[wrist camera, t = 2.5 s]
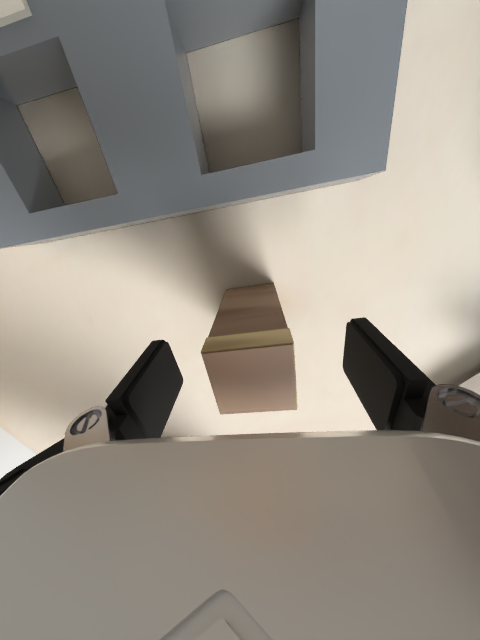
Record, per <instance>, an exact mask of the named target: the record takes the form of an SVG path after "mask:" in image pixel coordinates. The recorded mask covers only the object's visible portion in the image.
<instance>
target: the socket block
mask: <svg viewBox="0 0 480 640" xmlns="http://www.w3.org/2000/svg"><path fill="white" fill-rule="evenodd" d="M406 8H407V0H0V248H8V247H16V246H24V245H33V244H41V243H46V242H51V241H56V240H61V239H66V238H71V237H76V236H81V235H86V234H91V233H96V232H101V231H106V230H111V229H117V228H122V227H127V226H132V225H137V224H142V223H147V222H152V221H157V220H162V219H167V218H172V217H177V216H182V215H187V214H192V213H197V212H202V211H207V210H212V209H217V208H222V207H227V206H232V205H237V204H242V203H247V202H252V201H257V200H262V199H267V198H272V197H277V196H282V195H287V194H292V193H297V192H302V191H307V190H312V189H317V188H322V187H327V186H332V185H337V184H342V183H347V182H352V181H357V180H360V179H363V178H366V177H369V176H372V175H374V174H377V173H380V172H383V171H385V170H386V162H387V154H388V147H389V139H390V131H391V124H392V116H393V108H394V100H395V93H396V85H397V77H398V69H399V62H400V54H401V46H402V38H403V31H404V23H405V15H406ZM297 18H299V42H300V86H301V130H302V153H298V154H293V155H289V156H284V157H280V158H275V159H271V160H266V161H262V162H257V163H253V164H248V165H244V166H239V167H235V168H231V169H226V170H222V171H217V172H213V173H209V168H208V163H207V158H206V153H205V147H204V142H203V137H202V132H201V127H200V122H199V116H198V111H197V106H196V101H195V96H194V91H193V86H192V80H191V75H190V70H189V65H188V60H187V55H186V53H187V52H191V51H194V50H197V49H200V48H203V47H207V46H210V45H213V44H216V43H220V42H223V41H226V40H229V39H233V38H236V37H239V36H242V35H245V34H249V33H252V32H255V31H258V30H262V29H265V28H268V27H271V26H275V25H278V24H281V23H284V22H287V21H291V20H294V19H297ZM74 87H78V89H79V92H80V95H81V97H82V100H83V103H84V105H85V108H86V111H87V113H88V116H89V119H90V121H91V124H92V127H93V129H94V132H95V134H96V137H97V140H98V142H99V145H100V148H101V150H102V153H103V156H104V158H105V161H106V164H107V166H108V169H109V172H110V174H111V177H112V180H113V182H114V185H115V188H116V190H117V193H118V194H115V195H110V196H106V197H101V198H97V199H92V200H88V201H83V202H79V203H74V204H70V205H65V204H64V202H63V200H62V198H61V196H60V194H59V192H58V190H57V188H56V186H55V184H54V182H53V179H52V177H51V175H50V173H49V171H48V169H47V167H46V165H45V163H44V161H43V159H42V157H41V155H40V153H39V151H38V149H37V147H36V145H35V143H34V141H33V138H32V136H31V134H30V132H29V130H28V128H27V126H26V124H25V122H24V120H23V118H22V116H21V114H20V112H19V110H18V108H17V106H16V105H19V104H23V103H26V102H29V101H32V100H36V99H39V98H42V97H45V96H48V95H52V94H55V93H58V92H61V91H65V90H68V89H71V88H74Z"/></svg>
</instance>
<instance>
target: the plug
mask: <svg viewBox="0 0 480 640" xmlns="http://www.w3.org/2000/svg"><path fill="white" fill-rule="evenodd" d="M201 354H202V357H203V360H204V364H205V367H206V370H207V373H208V376H209V380H210V383H211V386H212V389H213V392H214V396H215V399H216V402H217V405H218V408H219V412H220V414H233V413H249V412H265V411H281V410H297V392H296V374H295V356H294V342H293V338H292V335H291V332H290V329H289V328H288V327H287V324H286V321H285V318H284V314H283V311H282V308H281V305H280V302H279V298H278V295H277V292H276V289H275V286H274V283H268V284H261V285H254V286H247V287H241V288H234V289H227V290H226V291H225V294H224V297H223V299H222V302H221V305H220V307H219V310H218V312H217V315H216V318H215V320H214V323H213V326H212V328H211V331H210V334H209V336H208V338H206V340H205V343H204V345H203V348H202V350H201Z"/></svg>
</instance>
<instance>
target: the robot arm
mask: <svg viewBox="0 0 480 640" xmlns="http://www.w3.org/2000/svg"><path fill="white" fill-rule="evenodd" d="M343 369H344V372H345V374H346V376H347V377H348V379H349V381H350V383H351V385H352V386H353V388H354V390H355V392H356V394H357V395H358V397H359V399H360V401H361V403H362V404H363V406H364V408H365V410H366V412H367V413H368V415H369V417H370V419H371V421H372V422H373V424H374V426H375V428H376V429H377V430H373V431H327V432H296V433H267V434H240V435H214V436H190V437H167V438H160V437H161V435H162V432H163V430H164V427H165V425H166V423H167V420H168V418H169V415H170V413H171V411H172V408H173V406H174V403H175V401H176V399H177V396H178V394H179V391H180V389H181V387H182V384H183V377H182V375H181V372H180V370H179V367H178V365H177V363H176V360H175V358H174V355H173V353H172V350H171V348H170V346H169V343H168V342H165V341H164V340H156V341H152V342H151V343H150V345H149V346H148V347H147V348H146V350H145V351H144V352H143V354H142V355H141V356H140V357H139V359H138V360H137V361H136V362H135V364H134V365H133V366H132V368H131V369H130V370H129V371H128V373H127V374H126V375H125V376H124V378H123V379H122V380H121V381H120V383H119V384H118V385H117V387H116V388H115V389H114V390H113V392H112V393H111V394H110V395H109V397H108V398H107V399H106V403H107V404H108V405H107V406H106V408H104V407H102V406H97V407H93V408H90V409H88V410H86V411H84V412H83V413H81V414H80V415H79V416H77V417H76V418H75V419H74V420H73V421H72V422H71V423H70V424H69V426H68V427H67V429H66V432H65V438H64V439H62V440H60V441H59V442H57V443H56V444H54V445H52V446H51V447H49V448H47V449H46V450H44V451H42V452H41V453H39V454H37V455H36V456H34V457H33V458H31V459H29V460H28V461H26V462H24V463H23V464H21V465H19V466H18V467H16V468H15V469H13V470H12V471H10V472H9V473H7V474H6V475H5V476H4V477H3V478H1V479H0V640H480V395H479V394H477V393H475V392H473V391H471V390H468V389H466V388H463V387H459V386H455V385H448V384H442V385H435V384H434V383H433V382H432V381H431V380H430V379H429V378H428V377H427V376H426V375H425V374H424V373H423V372H422V371H421V370H420V369H419V368H418V367H417V366H415V365H414V364H413V363H412V362H411V361H410V360H409V359H408V358H407V357H406V356H405V355H404V354H403V353H402V352H401V351H400V350H399V349H398V348H397V347H396V346H395V345H393V344H392V343H391V342H390V341H389V340H388V339H387V338H386V337H385V336H384V335H383V334H382V333H381V332H380V331H379V330H378V329H377V328H376V327H375V326H374V325H373V324H372V323H371V322H370V321H369V320H368V319H366V318H356V319H351V321H350V322H348V323H347V326H346V336H345V347H344V357H343Z"/></svg>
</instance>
